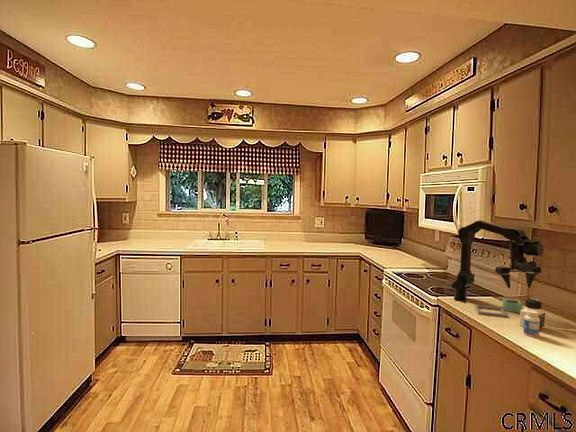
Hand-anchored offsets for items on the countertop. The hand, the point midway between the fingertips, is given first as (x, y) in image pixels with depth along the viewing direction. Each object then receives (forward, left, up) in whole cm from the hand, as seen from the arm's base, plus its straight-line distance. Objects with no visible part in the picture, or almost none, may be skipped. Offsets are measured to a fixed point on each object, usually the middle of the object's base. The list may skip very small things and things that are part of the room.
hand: (518, 288), depth 177 cm
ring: (-7, -1, -12) cm, 14 cm away
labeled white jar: (+15, +2, -14) cm, 21 cm away
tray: (+2, -12, -13) cm, 18 cm away
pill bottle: (+26, -1, -14) cm, 30 cm away
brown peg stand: (-7, -1, -13) cm, 15 cm away
